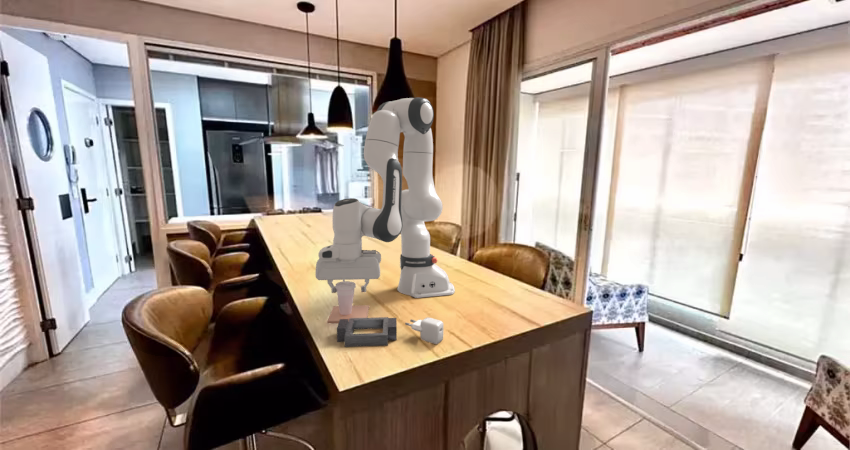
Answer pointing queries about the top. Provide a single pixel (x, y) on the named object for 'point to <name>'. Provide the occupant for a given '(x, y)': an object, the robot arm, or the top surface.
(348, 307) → the smoothie
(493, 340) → the top surface
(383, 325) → the grey rectangular frame
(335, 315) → the coaster
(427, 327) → the power adapter
